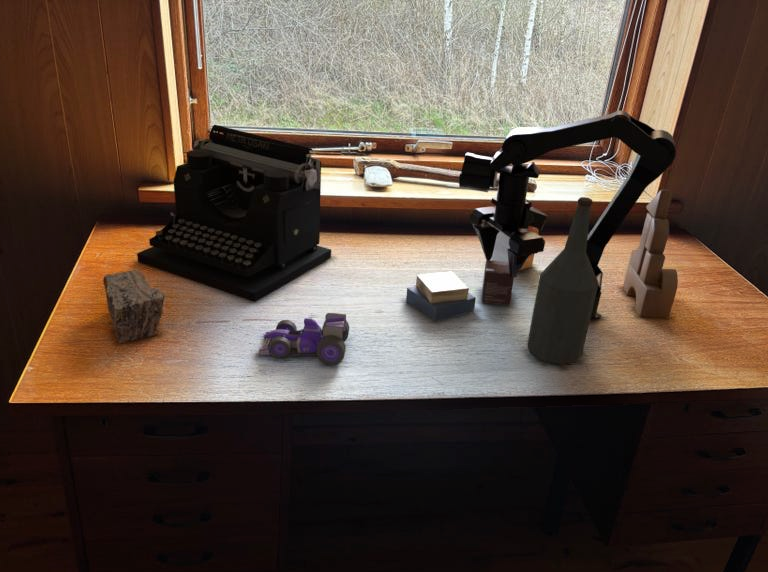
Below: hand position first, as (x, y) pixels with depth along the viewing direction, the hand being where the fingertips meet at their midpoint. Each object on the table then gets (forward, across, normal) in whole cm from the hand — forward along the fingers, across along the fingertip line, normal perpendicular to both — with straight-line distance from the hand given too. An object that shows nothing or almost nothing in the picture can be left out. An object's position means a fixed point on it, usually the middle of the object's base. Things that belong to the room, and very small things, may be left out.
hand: (500, 268), depth 153 cm
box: (+7, 0, 0) cm, 7 cm away
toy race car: (+7, -6, +45) cm, 46 cm away
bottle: (+7, -23, +2) cm, 24 cm away
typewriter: (+7, +35, +45) cm, 58 cm away
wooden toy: (+7, -12, -31) cm, 34 cm away
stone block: (+7, +13, +70) cm, 72 cm away
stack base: (+7, +1, +13) cm, 15 cm away
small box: (+7, +13, -13) cm, 20 cm away
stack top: (+4, +1, +13) cm, 14 cm away
